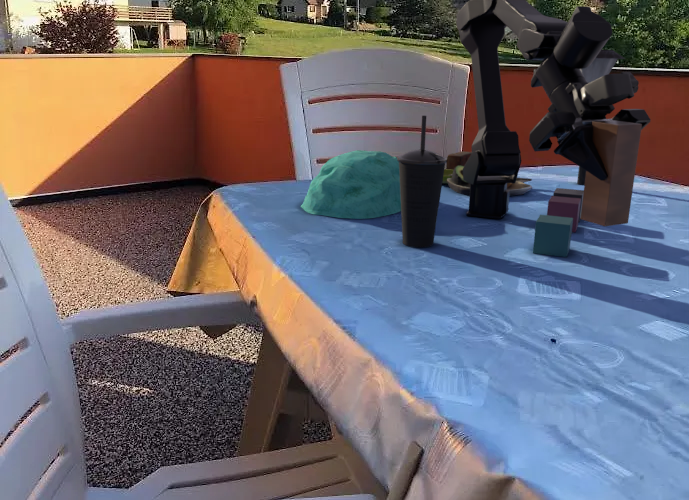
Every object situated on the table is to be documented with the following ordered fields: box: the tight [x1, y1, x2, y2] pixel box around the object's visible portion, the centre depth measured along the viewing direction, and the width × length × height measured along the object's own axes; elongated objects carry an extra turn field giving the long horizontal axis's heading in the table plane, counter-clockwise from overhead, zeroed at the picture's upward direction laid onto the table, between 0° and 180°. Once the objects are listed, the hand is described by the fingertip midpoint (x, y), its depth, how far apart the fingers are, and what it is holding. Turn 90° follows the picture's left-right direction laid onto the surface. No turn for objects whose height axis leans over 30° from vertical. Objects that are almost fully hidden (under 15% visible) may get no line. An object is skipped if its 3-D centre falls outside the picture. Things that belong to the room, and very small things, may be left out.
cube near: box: [532, 214, 573, 258], centre depth 109 cm, size 5×5×5 cm
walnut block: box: [580, 120, 642, 227], centre depth 99 cm, size 5×5×14 cm
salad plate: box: [447, 165, 533, 197], centre depth 156 cm, size 19×18×5 cm
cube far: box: [552, 187, 584, 223], centre depth 130 cm, size 5×5×5 cm
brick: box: [445, 150, 472, 170], centre depth 176 cm, size 11×4×5 cm, turn 149°
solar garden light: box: [576, 49, 626, 186], centre depth 160 cm, size 12×12×30 cm
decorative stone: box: [300, 149, 401, 220], centre depth 139 cm, size 21×27×10 cm
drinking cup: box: [396, 115, 447, 248], centre depth 109 cm, size 8×8×20 cm
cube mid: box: [546, 195, 581, 233], centre depth 123 cm, size 5×5×5 cm
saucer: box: [442, 168, 453, 185], centre depth 163 cm, size 9×9×2 cm
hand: (617, 177), depth 98 cm, fingers closed on walnut block, 4 cm apart
